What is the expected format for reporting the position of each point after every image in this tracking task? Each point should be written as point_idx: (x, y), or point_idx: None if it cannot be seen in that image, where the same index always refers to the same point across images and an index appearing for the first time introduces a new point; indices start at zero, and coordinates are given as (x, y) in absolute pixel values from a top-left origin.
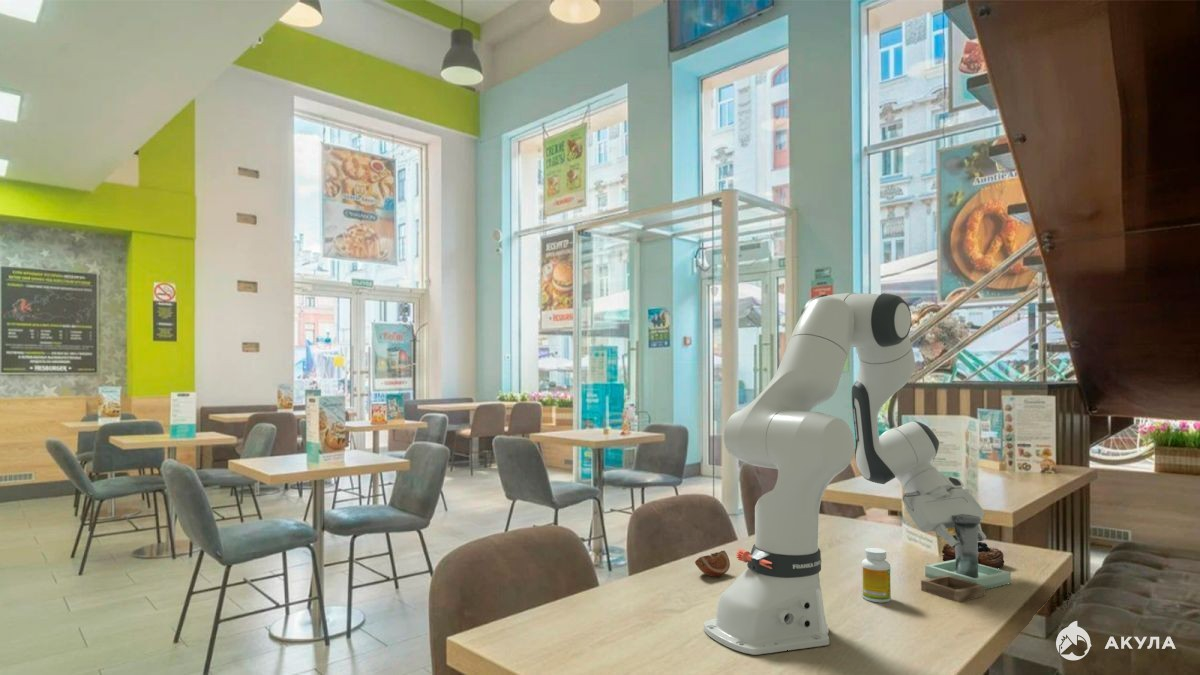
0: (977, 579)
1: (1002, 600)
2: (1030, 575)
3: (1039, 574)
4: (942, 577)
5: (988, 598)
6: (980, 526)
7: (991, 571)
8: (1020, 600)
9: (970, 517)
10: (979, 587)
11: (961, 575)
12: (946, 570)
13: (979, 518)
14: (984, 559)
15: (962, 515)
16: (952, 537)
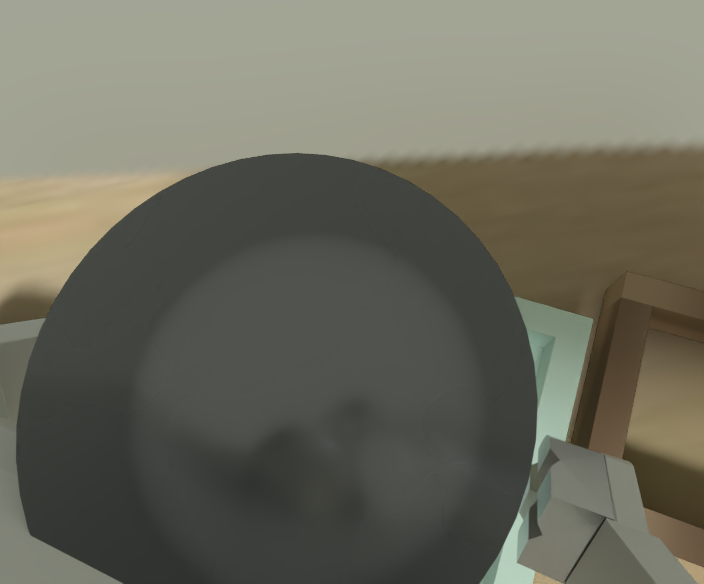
0: (568, 319)
1: (607, 212)
2: (90, 222)
3: (53, 200)
4: (666, 524)
5: (632, 266)
6: (11, 325)
7: None
8: (537, 160)
9: (271, 295)
10: (675, 285)
11: (558, 418)
12: (511, 537)
13: (263, 164)
14: None
15: (163, 471)
16: (640, 506)
